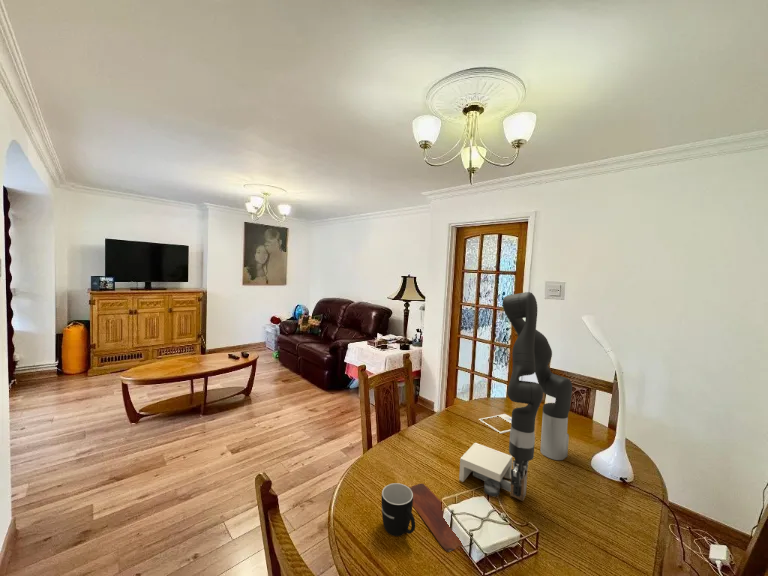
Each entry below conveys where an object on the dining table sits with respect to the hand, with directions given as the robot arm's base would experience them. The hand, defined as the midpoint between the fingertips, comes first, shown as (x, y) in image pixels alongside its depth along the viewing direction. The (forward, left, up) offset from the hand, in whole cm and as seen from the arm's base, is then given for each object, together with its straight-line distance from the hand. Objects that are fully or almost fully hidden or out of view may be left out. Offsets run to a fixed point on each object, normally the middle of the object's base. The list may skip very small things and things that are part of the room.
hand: (518, 491), depth 105 cm
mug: (+43, +6, -2) cm, 43 cm away
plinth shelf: (+6, -11, -2) cm, 12 cm away
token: (+7, -4, -2) cm, 9 cm away
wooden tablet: (+30, +2, -3) cm, 30 cm away
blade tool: (+4, -5, -1) cm, 7 cm away
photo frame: (-26, -49, -3) cm, 55 cm away
